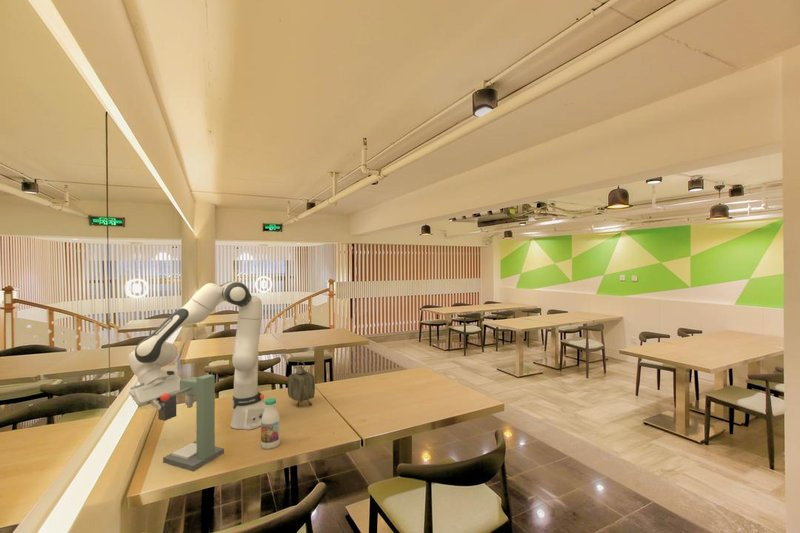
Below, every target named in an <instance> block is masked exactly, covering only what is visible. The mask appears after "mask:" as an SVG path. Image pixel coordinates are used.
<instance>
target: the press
mask: <svg viewBox="0 0 800 533" xmlns="http://www.w3.org/2000/svg"><path fill="white" fill-rule="evenodd" d="M215 376H216V375H215V374H203V375H202V376H197V377H196V376H188V377H186V378H181V379H182V380H180V391H177V392H174V393H171V394H168V393H164V394H162V395H161V397H160V399H161V401H167V400H169V398H170V397H172V396H175V395H177V396H178V395H181V394H185V395H184V396H185V397H184V398H185V400H184V401H185V402H184V404H185V405H186V407H187V408H193V405H194V404H195V399H196V405H195V406H196V407H195V409H196V440H195V441H193V442H191V443H189V444H187V445H184V446H183V447H181V448H179V449H177V450H175V451H173V452H172V453H169V454H167V455H165V456H164V457H162V463H164V464H167V465H171V466H174V467H177V468H181V469H184V470H186V471H189V472H194V471H196V470H198V469H199V468H202V467H203V466H205V465H207V464H208V463H210V462H211V461H213V460H216V459H217V458H218V457H220V456H221V455H224V453H225V448H224V447H221V446H216V440H215V438H216V437H215V436H216V430H215V429H216V428H215V427H216V425H215V424H216V422H215V421H216V419H215V418H216V417H215V414H216V413H215V412H216V411H215V409H216V408H215V407H216V406H215V403H216V401H215V396H216V395H215V394H216V393H215V390H216V389H215V388H216V387H215V385H216V384H215V383H216V382H215V381H216V380H215ZM195 396H196V398H195Z"/></svg>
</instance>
